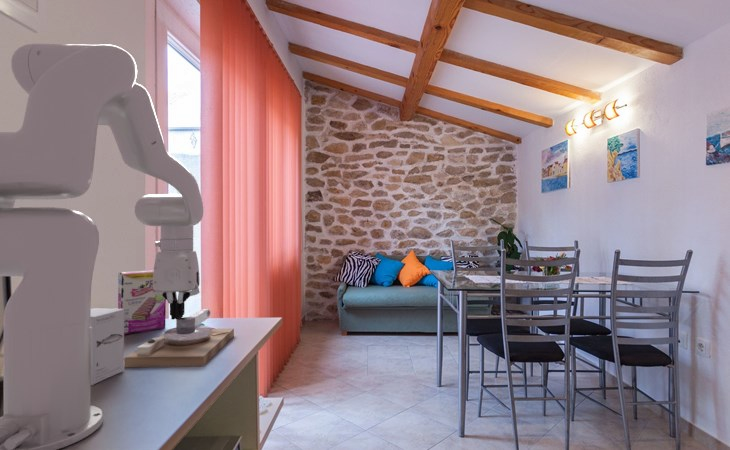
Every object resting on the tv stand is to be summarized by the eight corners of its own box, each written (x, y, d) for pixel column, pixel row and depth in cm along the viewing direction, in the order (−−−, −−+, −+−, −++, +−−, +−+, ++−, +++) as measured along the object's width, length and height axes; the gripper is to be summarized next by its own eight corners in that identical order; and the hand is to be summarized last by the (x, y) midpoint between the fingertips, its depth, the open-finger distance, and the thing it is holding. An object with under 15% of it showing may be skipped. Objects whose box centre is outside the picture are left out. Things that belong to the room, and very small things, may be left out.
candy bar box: (121, 336, 104) (121, 273, 104) (117, 332, 108) (117, 272, 108) (166, 328, 112) (166, 270, 112) (161, 325, 115) (161, 269, 115)
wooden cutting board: (203, 365, 82) (203, 345, 82) (124, 367, 81) (124, 346, 81) (233, 336, 104) (233, 319, 104) (171, 336, 103) (171, 320, 103)
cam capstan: (201, 345, 89) (201, 322, 89) (156, 345, 89) (156, 323, 89) (225, 324, 107) (225, 306, 107) (188, 325, 106) (188, 306, 106)
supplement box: (93, 386, 72) (93, 316, 72) (59, 383, 73) (59, 314, 73) (125, 371, 79) (125, 308, 79) (94, 368, 80) (94, 306, 80)
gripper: (139, 246, 96) (139, 322, 96) (201, 246, 97) (201, 321, 97) (154, 245, 104) (154, 315, 104) (212, 245, 104) (212, 314, 104)
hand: (177, 318), depth 100 cm, fingers closed
